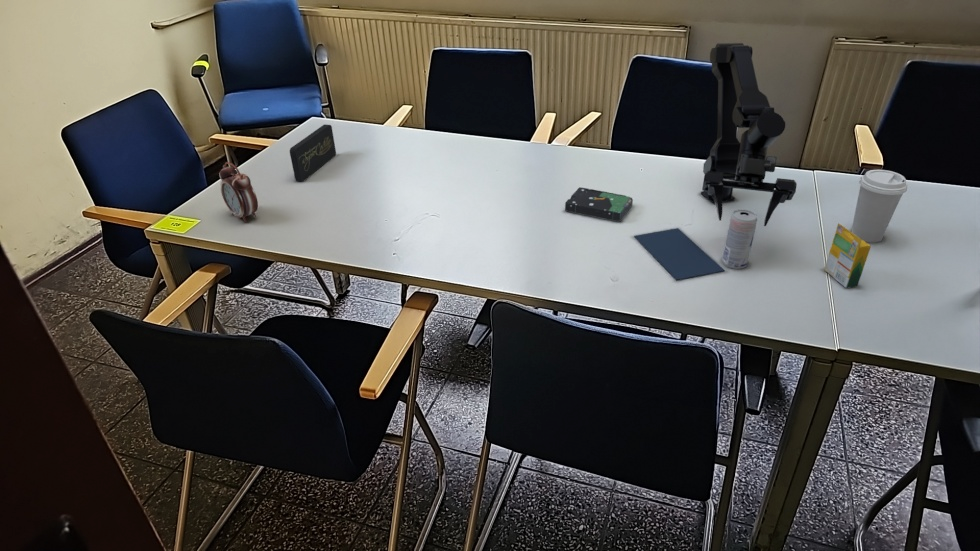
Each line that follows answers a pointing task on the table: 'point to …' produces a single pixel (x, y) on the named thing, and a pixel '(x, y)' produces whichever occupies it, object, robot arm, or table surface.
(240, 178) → the alarm clock
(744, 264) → the energy drink
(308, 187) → the table surface
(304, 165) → the nameplate
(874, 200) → the coffee cup
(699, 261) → the mat
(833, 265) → the crayon box
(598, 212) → the disk drive
